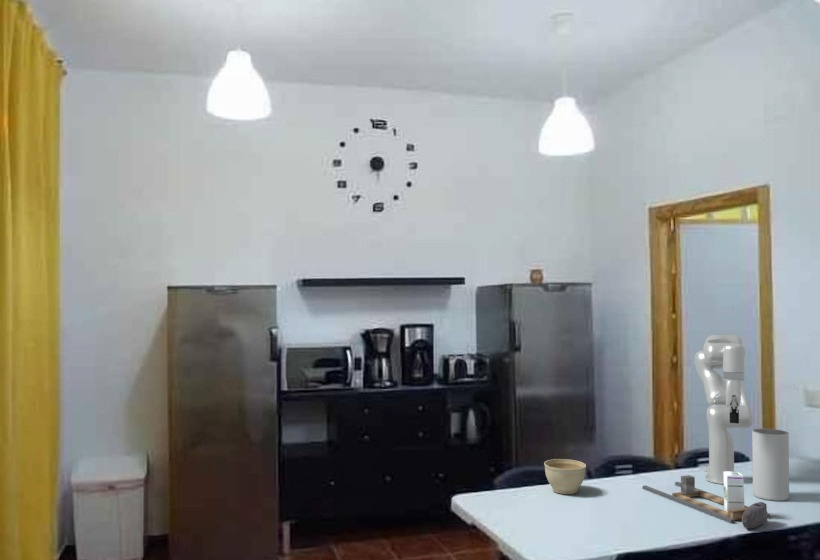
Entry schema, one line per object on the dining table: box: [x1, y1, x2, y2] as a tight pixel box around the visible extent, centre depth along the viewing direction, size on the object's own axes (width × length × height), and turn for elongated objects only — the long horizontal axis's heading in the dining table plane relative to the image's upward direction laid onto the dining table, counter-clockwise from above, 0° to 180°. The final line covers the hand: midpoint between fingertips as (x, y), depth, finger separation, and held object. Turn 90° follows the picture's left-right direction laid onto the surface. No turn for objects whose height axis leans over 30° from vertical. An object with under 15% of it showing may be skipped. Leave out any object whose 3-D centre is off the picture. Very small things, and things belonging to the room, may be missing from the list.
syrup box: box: [723, 471, 745, 512], centre depth 252 cm, size 6×6×14 cm
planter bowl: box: [543, 458, 587, 495], centre depth 282 cm, size 16×16×11 cm
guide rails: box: [642, 481, 771, 524], centre depth 267 cm, size 46×18×1 cm, turn 20°
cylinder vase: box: [751, 428, 790, 502], centre depth 274 cm, size 12×12×25 cm
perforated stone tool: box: [741, 501, 769, 530], centre depth 239 cm, size 15×5×7 cm, turn 129°
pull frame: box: [671, 474, 749, 521], centre depth 261 cm, size 30×13×8 cm, turn 20°
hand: (734, 421), depth 274 cm, fingers open, 9 cm apart
